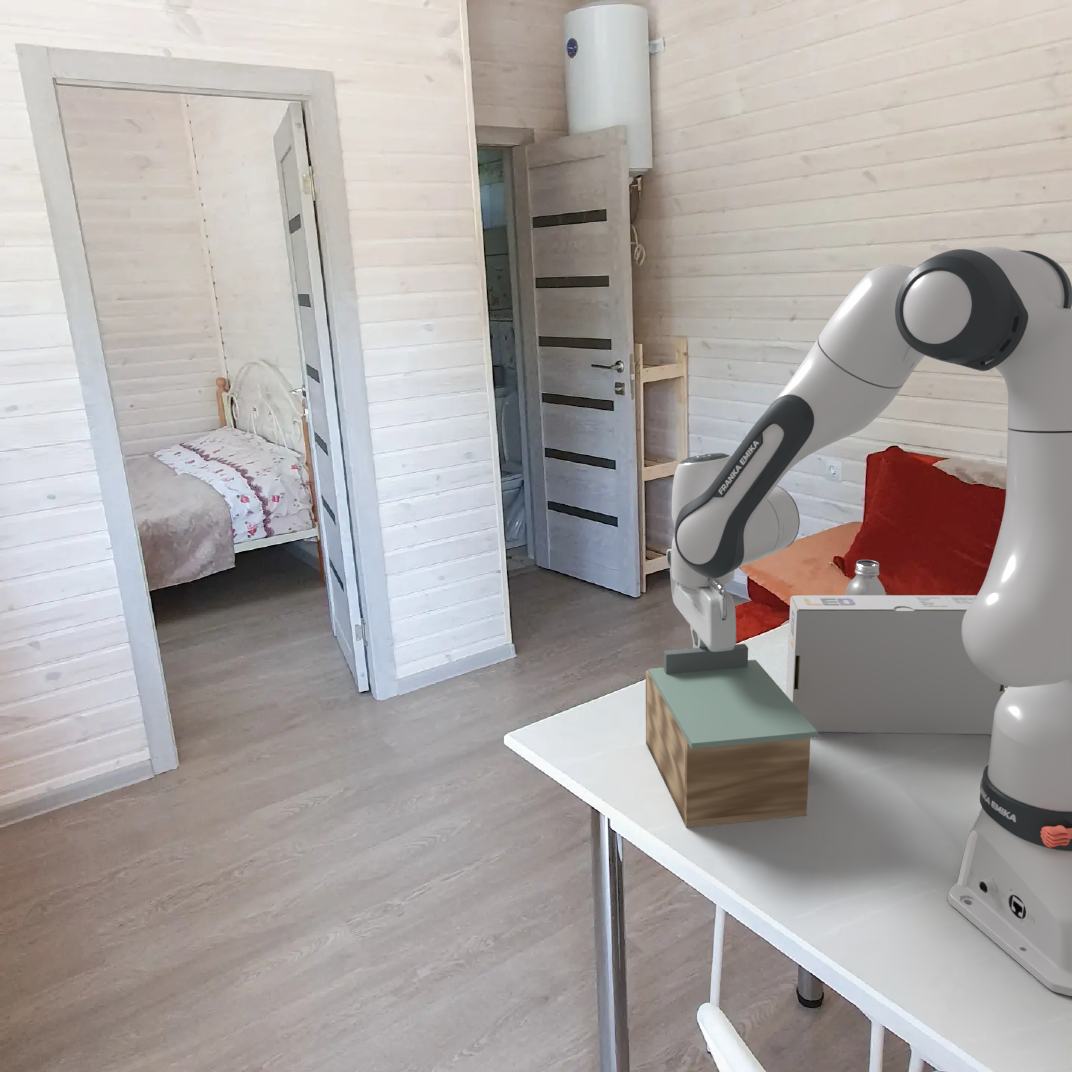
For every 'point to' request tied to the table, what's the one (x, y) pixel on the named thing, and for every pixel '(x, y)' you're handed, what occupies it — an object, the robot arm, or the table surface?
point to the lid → (726, 699)
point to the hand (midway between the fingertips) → (701, 655)
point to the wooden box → (726, 773)
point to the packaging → (886, 665)
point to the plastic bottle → (865, 579)
